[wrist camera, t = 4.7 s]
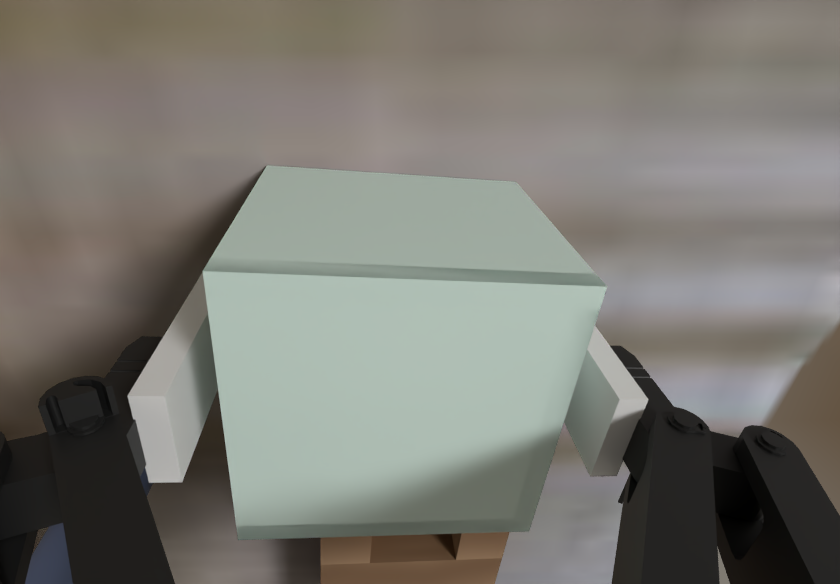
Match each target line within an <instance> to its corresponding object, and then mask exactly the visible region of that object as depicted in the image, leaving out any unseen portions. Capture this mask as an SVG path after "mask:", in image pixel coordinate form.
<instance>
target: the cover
mask: <svg viewBox="0 0 840 584" xmlns="http://www.w3.org/2000/svg"><path fill="white" fill-rule="evenodd" d="M203 278H204V286H205V294H206V301H207V309H208V316H209V324H210V331H211V339H212V347H213V354H214V362H215V369H216V377H217V384H218V392H219V400H220V407H221V415H222V422H223V430H224V437H225V445H226V453H227V460H228V468H229V475H230V483H231V490H232V498H233V506H234V513H235V521H236V528H237V536H238V540H256V539H290V538H323V537H357V536H390V535H424V534H458V533H491V532H525V531H529V530H530V527H531V524H532V521H533V517H534V514H535V511H536V508H537V505H538V502H539V499H540V496H541V492H542V489H543V486H544V483H545V480H546V477H547V474H548V470H549V467H550V464H551V461H552V458H553V455H554V452H555V449H556V445H557V442H558V439H559V436H560V433H561V430H562V427H563V423H564V420H565V417H566V414H567V411H568V408H569V405H570V401H571V398H572V395H573V392H574V389H575V386H576V383H577V380H578V376H579V373H580V370H581V367H582V364H583V361H584V358H585V354H586V351H587V348H588V345H589V342H590V339H591V336H592V333H593V329H594V326H595V323H596V320H597V317H598V314H599V311H600V307H601V304H602V301H603V298H604V295H605V292H606V289H607V286H606V285H605V284H604V283H603V281H602V280H601V279H600V278H599V277H598V276H597V275H596V273H595V272H594V271H593V270H592V269H591V268H590V266H589V265H588V264H587V263H586V262H585V261H584V260H583V258H582V257H581V256H580V255H579V254H578V253H577V252H576V250H575V249H574V248H573V247H572V246H571V245H570V243H569V242H568V241H567V240H566V239H565V238H564V237H563V235H562V234H561V233H560V232H559V231H558V230H557V229H556V227H555V226H554V225H553V224H552V223H551V222H550V220H549V219H548V218H547V217H546V216H545V215H544V214H543V212H542V211H541V210H540V209H539V208H538V207H537V205H536V204H535V203H534V202H533V201H532V200H531V199H530V197H529V196H528V195H527V194H526V193H525V192H524V191H523V189H522V188H521V187H520V186H519V185H518V184H517V182H509V181H494V180H479V179H464V178H449V177H434V176H419V175H404V174H389V173H374V172H359V171H344V170H329V169H314V168H299V167H284V166H268V165H267V166H266V168H265V169H264V171H263V173H262V174H261V176H260V178H259V179H258V181H257V183H256V184H255V186H254V188H253V189H252V191H251V192H250V194H249V196H248V197H247V199H246V201H245V202H244V204H243V206H242V207H241V209H240V210H239V212H238V214H237V215H236V217H235V219H234V220H233V222H232V224H231V225H230V227H229V229H228V230H227V232H226V233H225V235H224V237H223V238H222V240H221V242H220V243H219V245H218V247H217V248H216V250H215V252H214V253H213V255H212V256H211V258H210V260H209V261H208V263H207V265H206V266H205V268H204V270H203Z"/></svg>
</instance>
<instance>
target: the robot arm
mask: <svg viewBox="0 0 840 584" xmlns="http://www.w3.org/2000/svg"><path fill="white" fill-rule="evenodd" d="M217 390H218V384H217V377H216V369H215V362H214V354H213V347H212V339H211V331H210V324H209V316H208V309H207V301H206V294H205V286H204V278H203V272H202V274H201V276H200V277H199V279H198V281H197V282H196V284H195V285H194V287H193V289H192V290H191V292H190V294H189V295H188V297H187V299H186V300H185V302H184V304H183V305H182V307H181V309H180V310H179V312H178V313H177V315H176V317H175V318H174V320H173V322H172V323H171V325H170V327H169V328H168V330H167V332H166V333H165V335H164V336H163V337H140V338H139V339H137V340H136V341H135V342H133V343H132V344H130V345H129V346H127V347H126V348H125V350H124V351H123V353H122V354H121V356H120V357H119V358H118V361H117V362H116V363H115V364H114V366H113V367H112V368H111V370H110V373H108V374H107V376H106V377H105V378H101V377H98V376H83V377H77V378H72V379H69V380H66V381H64V382H61V383H59V384H57V385H55V386H54V387H52V388H51V389H49V390H47V392H46V393H45V394H44V395H43V396H42V397H41V398H40V401H39V405H38V408H39V410H40V413H41V416H42V419H43V421H44V424H45V427H46V429H47V432H46V433H42V434H39V435H34V436H29V437H25V438H20V439H15V440H10V441H6V438H5V436H4V434H3V433H2V432H1V431H0V584H25V581H26V577H27V573H28V569H29V564H30V560H31V556H32V552H33V548H34V544H35V540H36V535H37V531H38V529H42V528H45V527H49V526H53V525H56V524H60V523H63V526H64V532H65V538H66V545H67V551H68V557H69V563H70V569H71V575H72V582H73V584H175V582H174V579H173V576H172V573H171V570H170V567H169V564H168V561H167V558H166V555H165V552H164V549H163V546H162V543H161V540H160V536H159V533H158V530H157V527H156V524H155V521H154V518H153V515H152V512H151V509H150V506H149V503H148V500H147V497H146V494H145V491H144V487H143V484H142V481H141V478H140V477H141V475H142V472H143V470H144V468H145V469H146V473H147V477H148V481H149V483H168V482H182V481H183V479H184V476H185V474H186V471H187V468H188V466H189V463H190V461H191V458H192V455H193V453H194V450H195V447H196V445H197V442H198V440H199V437H200V434H201V432H202V429H203V427H204V424H205V421H206V419H207V416H208V413H209V411H210V408H211V406H212V403H213V400H214V398H215V395H216V392H217ZM564 423H565V425H566V427H567V429H568V431H569V433H570V435H571V437H572V439H573V441H574V444H575V446H576V448H577V450H578V452H579V454H580V456H581V458H582V460H583V462H584V464H585V466H586V468H587V470H588V473H589V475H590V476H617V474H618V472H619V469H620V467H621V464H622V462H623V460H624V462H625V464H626V466H627V467H628V469H629V471H630V475H629V477H628V480H627V482H626V484H625V487H624V489H623V491H622V493H621V496H620V498H619V500H618V502H619V503H621V504H622V503H623V508H622V515H621V522H620V529H619V536H618V543H617V550H616V557H615V564H614V571H613V578H612V584H719V567H718V550H717V546H718V549H719V552H720V555H721V558H722V561H723V564H724V567H725V569H726V573H727V576H728V578H729V581H730V584H840V515H839V514H838V512H837V511H836V509H835V507H834V506H833V504H832V502H831V501H830V499H829V498H828V496H827V494H826V493H825V491H824V489H823V488H822V486H821V484H820V483H819V481H818V480H817V478H816V476H815V474H814V473H813V471H812V470H811V468H810V466H809V465H808V463H807V461H806V460H805V458H804V457H803V455H802V453H801V452H800V450H799V449H798V448H797V447H796V445H795V444H794V443H793V442H792V441H790V440H789V439H788V438H786V437H785V436H784V435H782V434H780V433H779V432H777V431H774V430H772V429H769V428H766V427H763V426H754V425H751V426H748V427H745V428H744V430H743V431H742V433H741V435H740V436H739V438H737V437H732V436H728V435H724V434H720V433H715V432H711V431H710V430H709V427H708V426H707V425H706V424H705V423H704V421H703V420H702V419H700V418H699V417H697V416H696V415H695V414H693V413H691V412H689V411H687V410H684V409H681V408H677V407H674V406H673V405H672V404H671V402H670V401H669V400H668V399H667V397H666V396H665V395H664V393H663V392H662V391H661V390H660V388H659V387H658V386H657V384H656V383H655V382H654V381H653V379H652V378H650V375H649V374H648V373H647V371H646V370H645V369H643V366H642V365H641V364H640V362H639V361H638V360H637V359H636V357H635V356H634V355H632V354H631V353H630V352H628V351H627V350H626V349H624V348H623V347H621V346H609V344H608V343H607V341H606V340H605V339H604V337H603V336H602V335H601V333H600V332H599V330H598V329H597V328H596V326H594V329H593V333H592V336H591V339H590V342H589V345H588V348H587V351H586V354H585V358H584V361H583V364H582V367H581V370H580V373H579V376H578V380H577V383H576V386H575V389H574V392H573V395H572V398H571V401H570V405H569V408H568V411H567V414H566V417H565V420H564Z"/></svg>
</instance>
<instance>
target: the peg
mask: <svg viewBox="0 0 840 584" xmlns="http://www.w3.org/2000/svg"><path fill="white" fill-rule="evenodd" d="M140 478H141V481H142V484H143V487H144V491H145V494H146V497H147V495H148V493H149V491H150V488H151V486H152V484H153V483H149V481H148V477H147V473H146V469H145V468H144V470H143V472H142V475H141V477H140ZM25 584H73V582H72V575H71V569H70V563H69V557H68V551H67V545H66V538H65V532H64V526H63V523H60V524H56V525H53V526H49V528H48V529H47V531H46V532H45V534H44V536H43V537H42V539H41V541H40V542H39V544H38V546H37V547H36V549H35V551H34V552H33V554H32V556H31V560H30V564H29V569H28V573H27V577H26V581H25Z"/></svg>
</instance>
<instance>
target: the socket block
mask: <svg viewBox="0 0 840 584" xmlns="http://www.w3.org/2000/svg"><path fill="white" fill-rule="evenodd" d="M508 535H509V532H491V533H458V534H424V535H390V536H357V537H323V538H320V550H321V584H495V580H496V577H497V573H498V570H499V566H500V563H501V560H502V556H503V553H504V549H505V546H506V542H507V539H508Z"/></svg>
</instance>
